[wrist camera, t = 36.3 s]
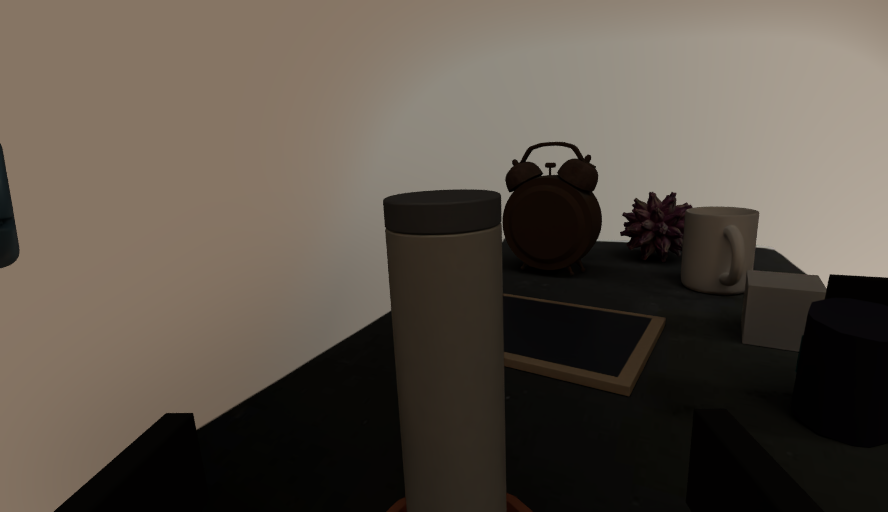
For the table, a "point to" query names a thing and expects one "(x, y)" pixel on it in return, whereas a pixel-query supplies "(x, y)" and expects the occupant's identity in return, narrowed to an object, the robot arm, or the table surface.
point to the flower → (656, 226)
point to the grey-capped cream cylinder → (449, 347)
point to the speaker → (846, 363)
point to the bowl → (513, 505)
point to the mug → (718, 249)
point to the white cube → (778, 308)
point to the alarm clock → (552, 211)
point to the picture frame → (578, 342)
